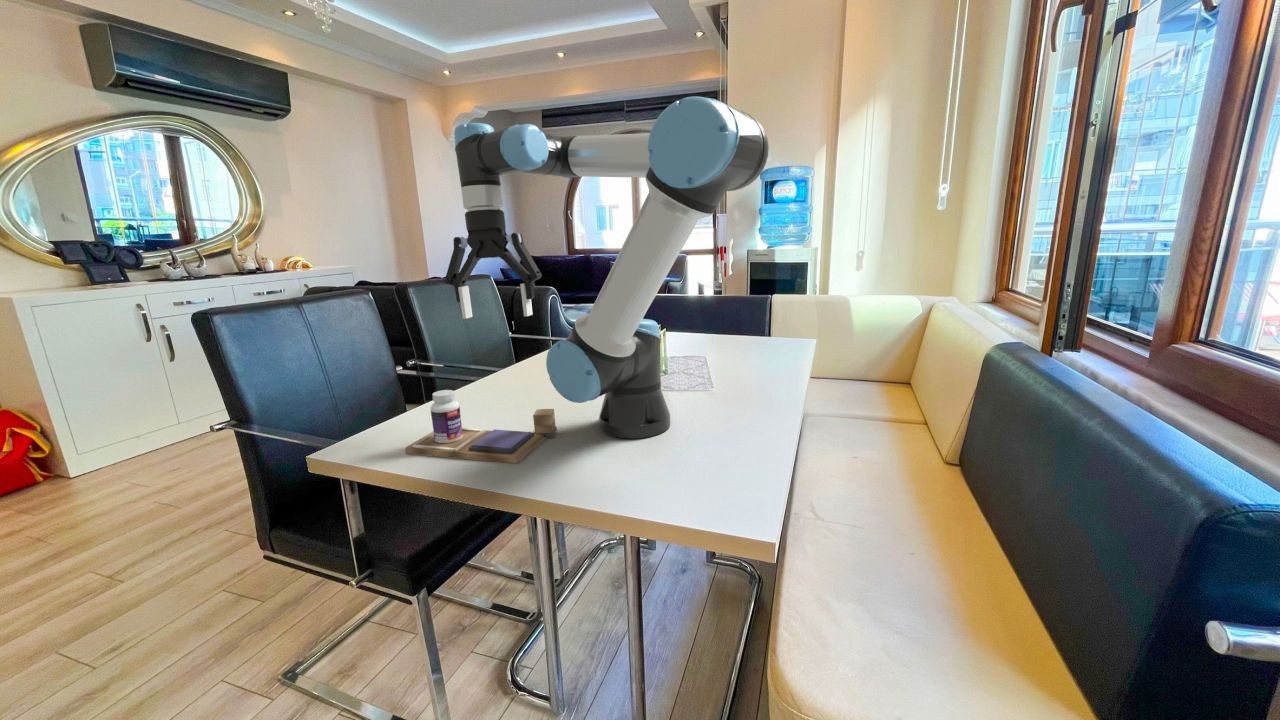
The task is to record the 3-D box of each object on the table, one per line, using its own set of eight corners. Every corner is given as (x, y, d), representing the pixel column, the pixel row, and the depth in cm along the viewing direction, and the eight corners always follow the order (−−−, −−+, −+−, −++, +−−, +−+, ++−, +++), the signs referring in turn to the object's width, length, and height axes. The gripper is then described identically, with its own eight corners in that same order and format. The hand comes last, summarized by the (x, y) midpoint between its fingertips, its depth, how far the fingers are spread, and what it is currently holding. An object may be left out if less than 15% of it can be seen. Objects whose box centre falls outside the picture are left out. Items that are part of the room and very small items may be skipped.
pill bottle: (454, 444, 100) (447, 397, 98) (429, 443, 101) (422, 396, 99) (468, 434, 105) (462, 388, 103) (444, 433, 107) (438, 388, 104)
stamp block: (556, 430, 109) (555, 408, 108) (553, 438, 105) (551, 414, 104) (538, 431, 109) (536, 408, 108) (534, 438, 105) (532, 415, 104)
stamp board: (543, 440, 104) (542, 429, 104) (517, 463, 94) (515, 452, 93) (441, 432, 111) (440, 422, 110) (406, 453, 100) (404, 442, 100)
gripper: (550, 205, 103) (561, 311, 107) (438, 215, 108) (453, 316, 113) (535, 203, 96) (547, 317, 100) (416, 214, 101) (433, 321, 106)
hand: (497, 316), depth 107 cm, fingers open, 13 cm apart
